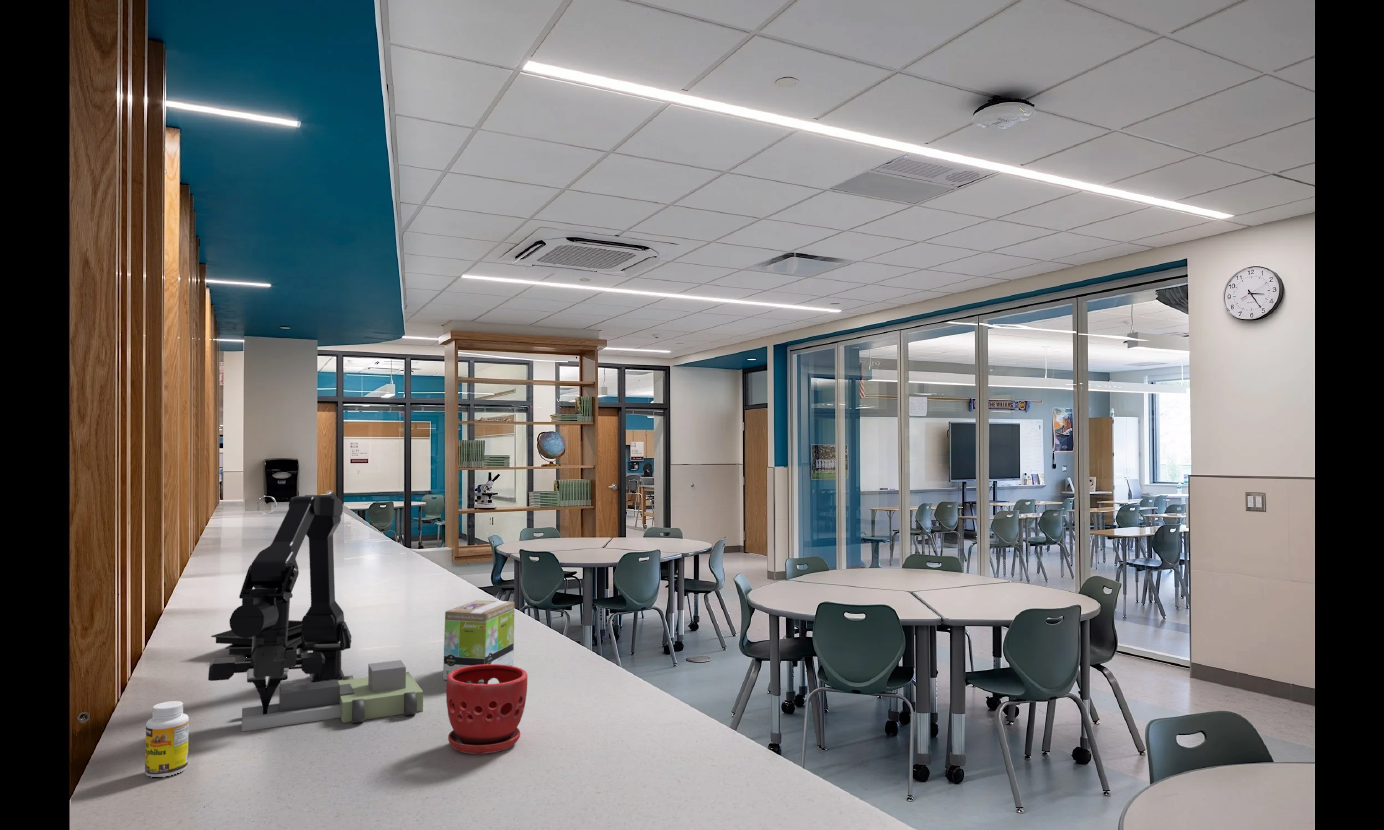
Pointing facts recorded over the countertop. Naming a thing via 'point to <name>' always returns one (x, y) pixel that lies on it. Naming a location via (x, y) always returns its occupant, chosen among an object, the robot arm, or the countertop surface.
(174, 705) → the supplement bottle
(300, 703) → the dark grey stepped block
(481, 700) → the plant pot
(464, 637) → the tea box
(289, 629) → the tray
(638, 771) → the countertop surface
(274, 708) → the toy flatbed truck
